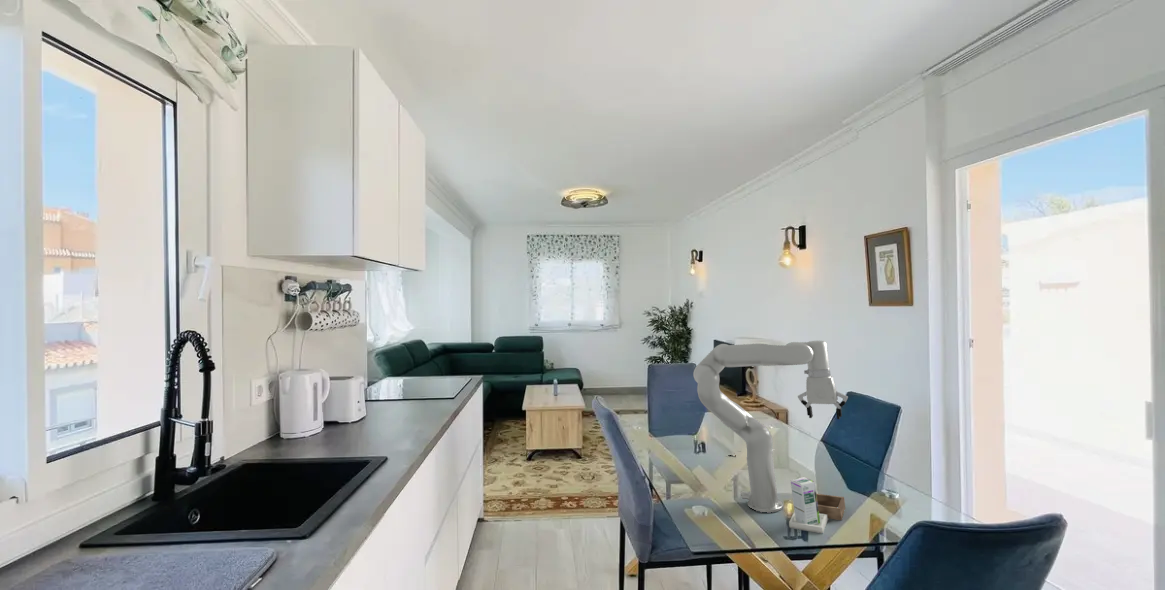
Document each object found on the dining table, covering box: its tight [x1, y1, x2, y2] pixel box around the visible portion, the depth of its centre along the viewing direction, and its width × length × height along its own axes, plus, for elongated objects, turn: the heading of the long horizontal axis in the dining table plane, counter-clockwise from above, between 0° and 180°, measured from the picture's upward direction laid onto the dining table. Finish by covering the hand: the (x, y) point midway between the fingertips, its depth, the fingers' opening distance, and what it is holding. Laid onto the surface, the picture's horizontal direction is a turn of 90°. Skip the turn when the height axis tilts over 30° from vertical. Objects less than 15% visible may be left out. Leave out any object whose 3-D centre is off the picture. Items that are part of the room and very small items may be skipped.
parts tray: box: [788, 511, 829, 534], centre depth 165 cm, size 10×10×2 cm
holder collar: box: [816, 493, 846, 521], centre depth 173 cm, size 11×11×4 cm
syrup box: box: [790, 476, 820, 525], centre depth 166 cm, size 6×6×14 cm
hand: (824, 417), depth 182 cm, fingers open, 9 cm apart
